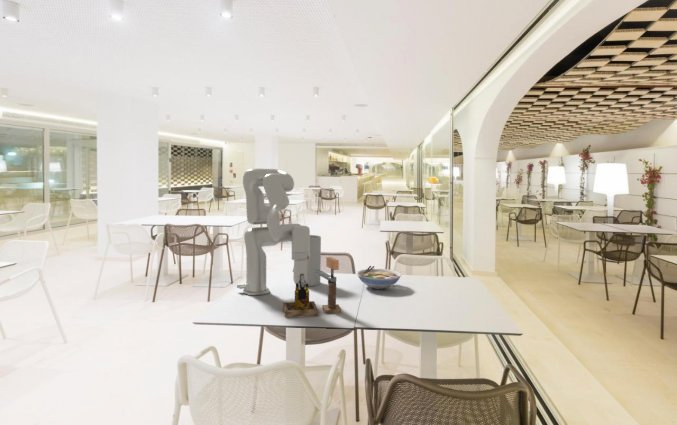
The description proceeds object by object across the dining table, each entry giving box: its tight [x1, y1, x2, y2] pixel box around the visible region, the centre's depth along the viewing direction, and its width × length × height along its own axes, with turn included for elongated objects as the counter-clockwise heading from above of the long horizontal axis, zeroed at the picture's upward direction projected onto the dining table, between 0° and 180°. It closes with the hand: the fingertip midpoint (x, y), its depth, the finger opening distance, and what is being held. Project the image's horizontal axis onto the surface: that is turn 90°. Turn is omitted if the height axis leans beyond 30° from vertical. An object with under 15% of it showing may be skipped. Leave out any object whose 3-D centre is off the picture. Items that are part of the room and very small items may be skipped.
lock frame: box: [282, 281, 342, 318], centre depth 182 cm, size 24×12×12 cm, turn 101°
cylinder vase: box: [307, 234, 322, 287], centre depth 227 cm, size 12×12×25 cm
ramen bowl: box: [356, 265, 402, 290], centre depth 223 cm, size 25×23×8 cm
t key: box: [314, 256, 340, 283], centre depth 189 cm, size 22×4×10 cm, turn 26°
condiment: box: [290, 283, 310, 310], centre depth 181 cm, size 7×8×12 cm
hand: (300, 296), depth 181 cm, fingers open, 9 cm apart
